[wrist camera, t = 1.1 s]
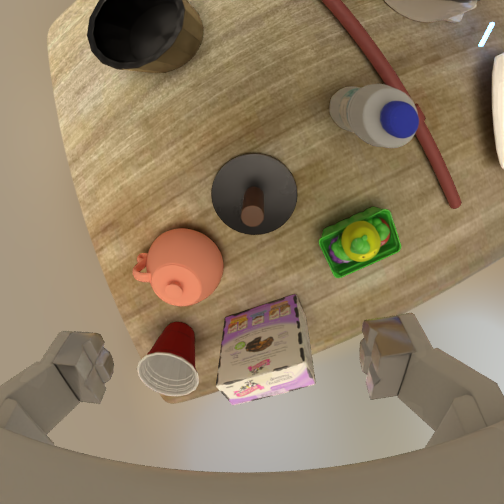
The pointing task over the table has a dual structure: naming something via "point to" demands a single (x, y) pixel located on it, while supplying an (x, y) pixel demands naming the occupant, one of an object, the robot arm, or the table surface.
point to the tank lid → (254, 193)
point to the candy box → (265, 352)
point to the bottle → (376, 114)
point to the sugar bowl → (181, 267)
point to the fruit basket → (359, 241)
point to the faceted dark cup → (145, 34)
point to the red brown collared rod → (391, 79)
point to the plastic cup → (171, 362)
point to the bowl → (498, 105)
